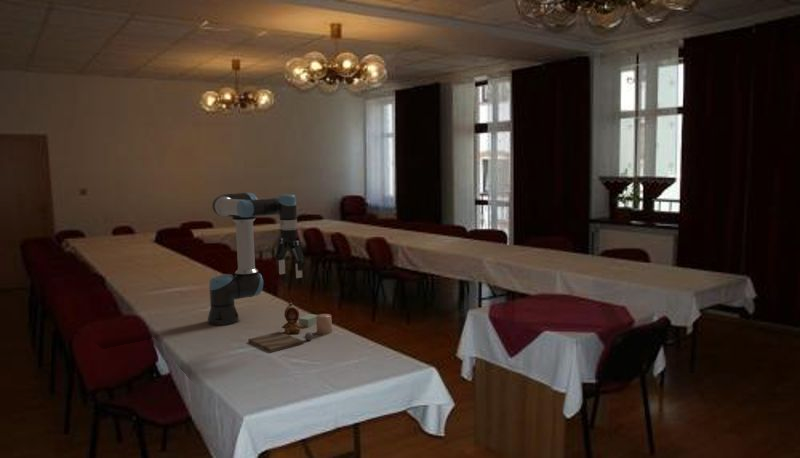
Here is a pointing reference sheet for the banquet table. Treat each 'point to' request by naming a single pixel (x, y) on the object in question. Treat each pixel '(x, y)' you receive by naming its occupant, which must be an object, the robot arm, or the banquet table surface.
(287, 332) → the figurine
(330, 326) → the brown rounded cylinder
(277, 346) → the board
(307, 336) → the ball
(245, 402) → the banquet table surface
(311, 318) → the block
